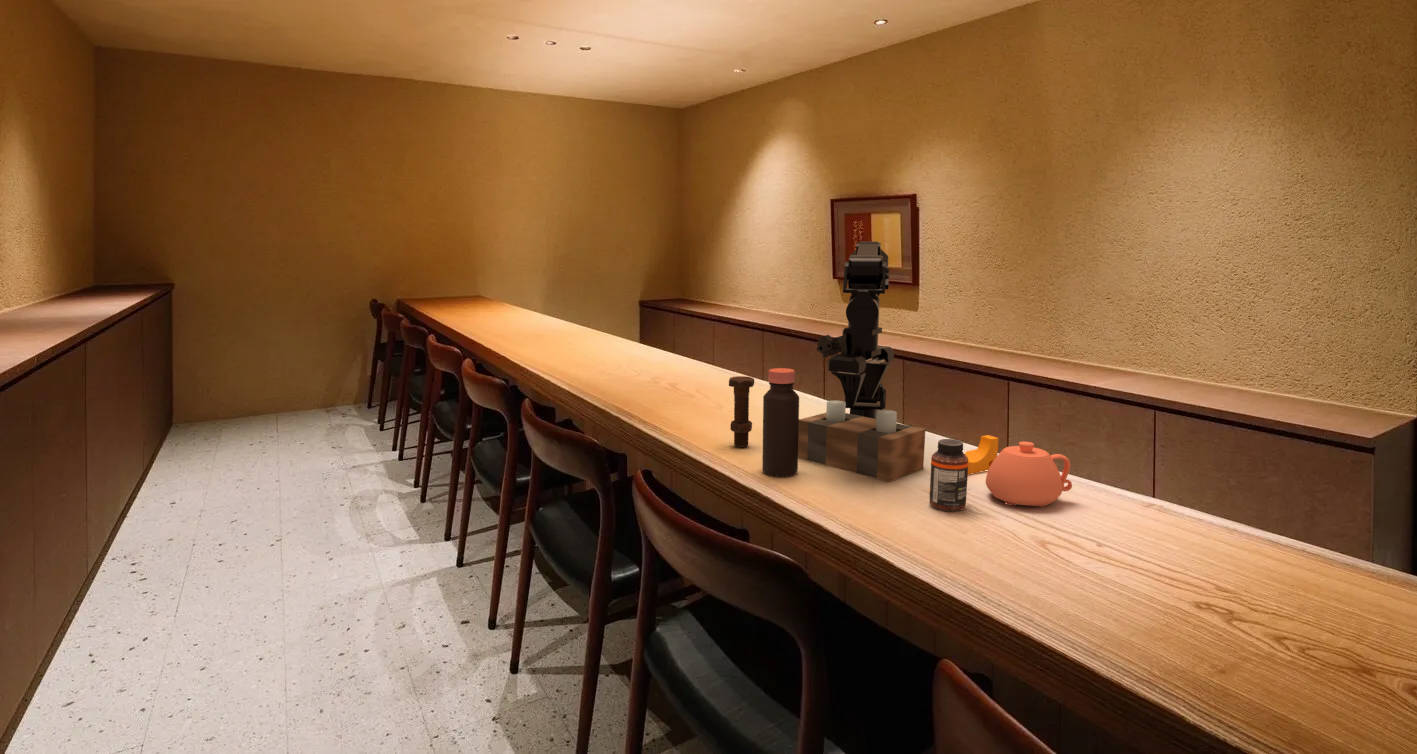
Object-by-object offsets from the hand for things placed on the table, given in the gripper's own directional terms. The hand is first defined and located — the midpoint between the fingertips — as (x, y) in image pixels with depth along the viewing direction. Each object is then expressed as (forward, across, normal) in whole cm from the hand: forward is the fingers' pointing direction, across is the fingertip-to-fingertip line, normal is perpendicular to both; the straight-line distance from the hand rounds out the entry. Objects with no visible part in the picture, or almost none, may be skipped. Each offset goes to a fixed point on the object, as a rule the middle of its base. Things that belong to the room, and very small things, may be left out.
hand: (860, 402), depth 149 cm
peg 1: (+9, -4, -7) cm, 11 cm away
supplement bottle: (+13, +12, +22) cm, 28 cm away
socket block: (+13, -2, -1) cm, 13 cm away
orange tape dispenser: (+13, -9, +18) cm, 25 cm away
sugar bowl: (+13, +2, +32) cm, 35 cm away
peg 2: (+9, -1, +5) cm, 10 cm away
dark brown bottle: (+13, +12, -11) cm, 21 cm away
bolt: (+13, 0, -27) cm, 30 cm away
